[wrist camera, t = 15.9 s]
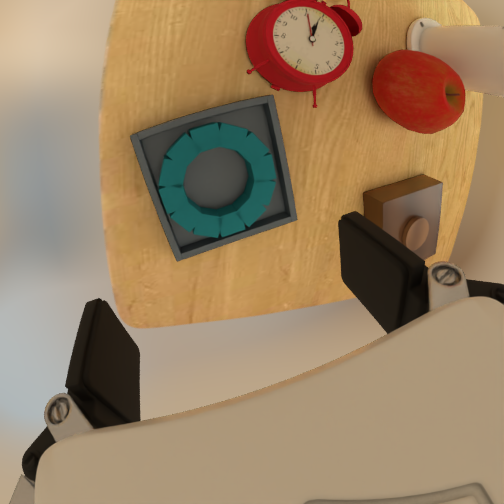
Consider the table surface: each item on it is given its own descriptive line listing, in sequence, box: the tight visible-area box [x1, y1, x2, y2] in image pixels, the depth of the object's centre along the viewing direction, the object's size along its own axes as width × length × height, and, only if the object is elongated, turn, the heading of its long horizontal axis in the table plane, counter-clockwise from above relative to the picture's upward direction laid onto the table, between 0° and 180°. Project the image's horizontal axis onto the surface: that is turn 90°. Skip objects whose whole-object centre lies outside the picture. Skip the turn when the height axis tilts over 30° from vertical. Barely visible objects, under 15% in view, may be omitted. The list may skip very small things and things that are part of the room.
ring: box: [158, 122, 277, 238], centre depth 26 cm, size 11×11×2 cm
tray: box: [130, 95, 297, 261], centre depth 27 cm, size 13×13×2 cm
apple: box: [372, 50, 465, 134], centre depth 23 cm, size 10×10×10 cm
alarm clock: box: [246, 0, 362, 108], centre depth 20 cm, size 10×6×15 cm
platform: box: [363, 175, 443, 260], centre depth 35 cm, size 12×12×5 cm
